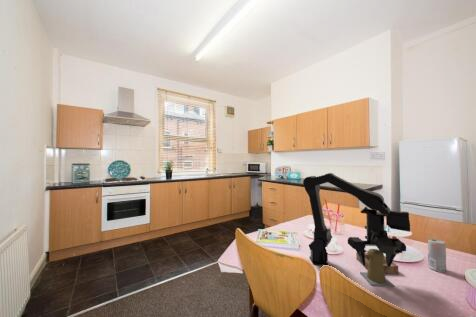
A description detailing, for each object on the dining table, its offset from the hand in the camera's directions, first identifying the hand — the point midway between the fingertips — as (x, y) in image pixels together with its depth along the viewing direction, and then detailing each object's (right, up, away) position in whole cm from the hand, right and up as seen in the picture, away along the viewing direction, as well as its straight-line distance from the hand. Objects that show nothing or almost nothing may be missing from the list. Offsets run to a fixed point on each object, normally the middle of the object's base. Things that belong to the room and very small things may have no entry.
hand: (376, 265), depth 75 cm
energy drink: (+31, -5, +7) cm, 32 cm away
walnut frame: (+7, -6, +10) cm, 13 cm away
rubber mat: (0, -6, 0) cm, 6 cm away
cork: (0, -5, 0) cm, 5 cm away
